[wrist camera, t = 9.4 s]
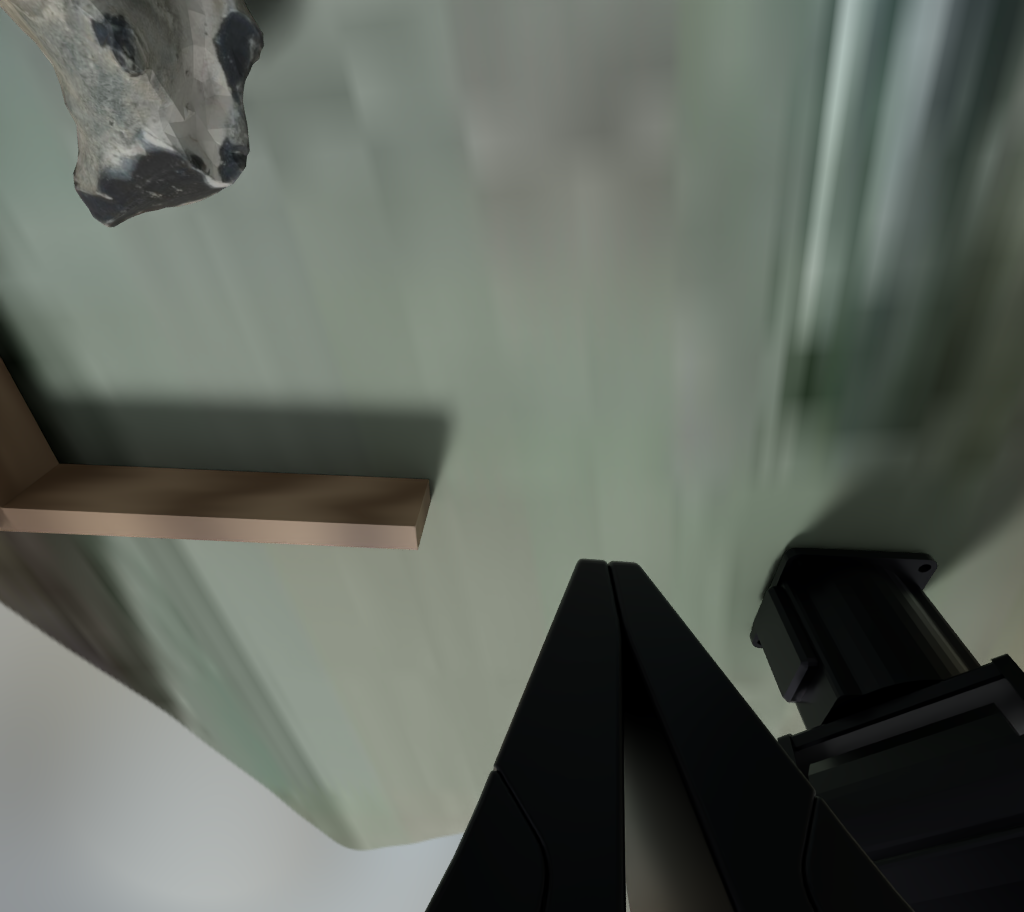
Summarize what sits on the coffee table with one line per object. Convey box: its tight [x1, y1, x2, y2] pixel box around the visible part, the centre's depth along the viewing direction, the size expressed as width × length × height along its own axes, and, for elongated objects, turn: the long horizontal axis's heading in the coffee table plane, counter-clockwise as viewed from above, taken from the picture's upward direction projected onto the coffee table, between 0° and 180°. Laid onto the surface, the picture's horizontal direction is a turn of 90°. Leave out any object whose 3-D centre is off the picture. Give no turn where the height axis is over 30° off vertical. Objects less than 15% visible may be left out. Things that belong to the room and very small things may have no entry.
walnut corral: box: [0, 357, 431, 550], centre depth 14 cm, size 17×28×3 cm, turn 179°
